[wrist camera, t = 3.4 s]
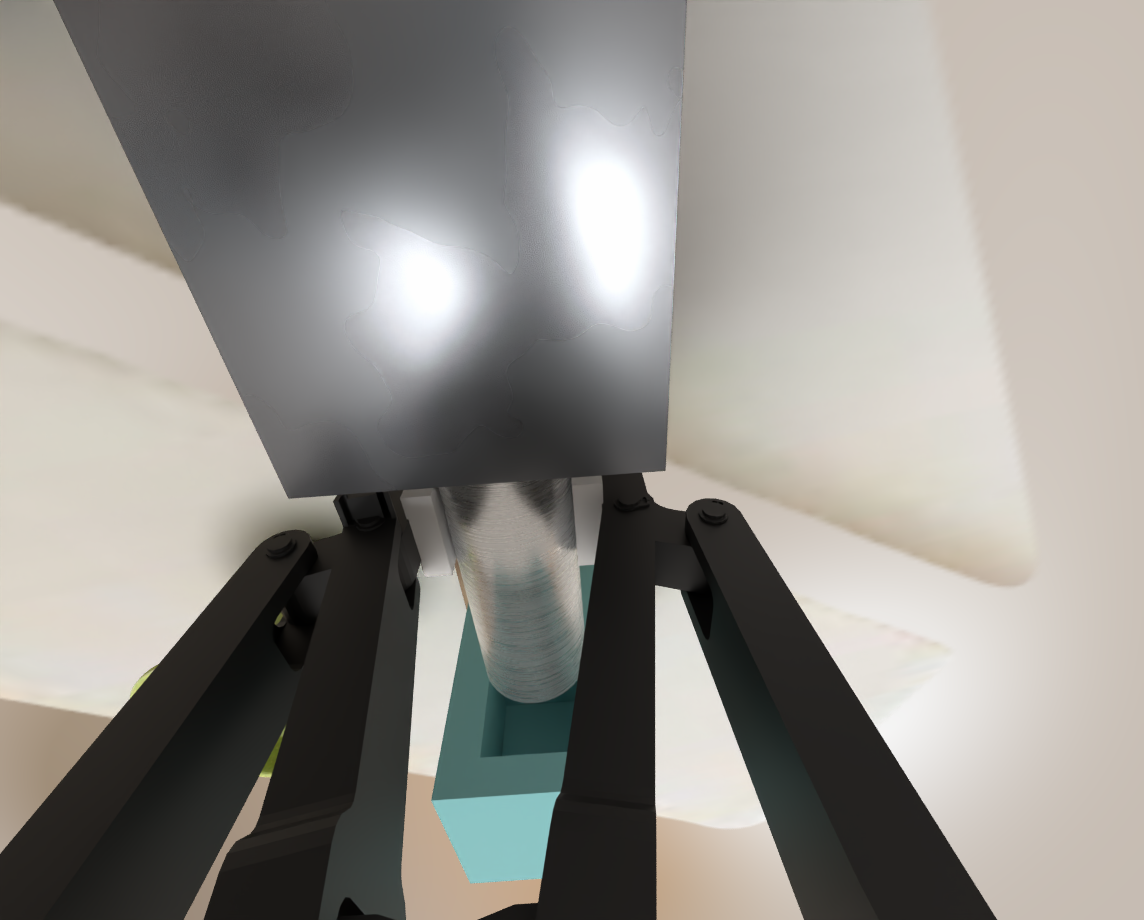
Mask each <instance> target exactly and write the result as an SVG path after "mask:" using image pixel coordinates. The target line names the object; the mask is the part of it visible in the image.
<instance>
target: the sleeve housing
mask: <svg viewBox="0 0 1144 920" xmlns="http://www.w3.org/2000/svg"><path fill="white" fill-rule="evenodd" d="M53 1H54V3H55V5H56V7H57V9H58V11H59V14H60V16H61V18H62V20H63V22H64V24H65V26H66V28H67V30H68V33H69V35H70V37H71V39H72V41H73V43H74V45H75V47H76V50H77V52H78V54H79V56H80V58H81V60H82V62H83V64H84V66H85V69H86V71H87V73H88V75H89V77H90V79H91V81H92V83H93V86H94V88H95V90H96V92H97V94H98V96H99V98H100V100H101V102H102V105H103V107H104V109H105V111H106V113H107V115H108V117H109V119H110V122H111V124H112V126H113V128H114V130H115V132H116V134H117V136H118V138H119V141H120V143H121V145H122V147H123V149H124V151H125V153H126V155H127V158H128V160H129V162H130V164H131V166H132V168H133V170H134V172H135V174H136V177H137V179H138V181H139V183H140V185H141V187H142V189H143V191H144V193H145V196H146V198H147V200H148V202H149V204H150V206H151V208H152V210H153V213H154V215H155V217H156V219H157V221H158V223H159V225H160V227H161V229H162V232H163V234H164V236H165V238H166V240H167V242H168V244H169V246H170V249H171V251H172V253H173V255H174V257H175V259H176V261H177V263H178V265H179V268H180V270H181V272H182V274H183V276H184V278H185V280H186V282H187V285H188V287H189V289H190V291H191V293H192V295H193V297H194V299H195V301H196V304H197V306H198V308H199V310H200V312H201V314H202V316H203V318H204V320H205V323H206V325H207V327H208V329H209V331H210V333H211V335H212V337H213V340H214V342H215V344H216V346H217V348H218V350H219V352H220V354H221V356H222V359H223V361H224V363H225V365H226V367H227V369H228V371H229V373H230V375H231V378H232V379H233V382H234V384H235V386H236V388H237V390H238V392H239V395H240V397H241V399H242V401H243V403H244V405H245V407H246V409H247V412H248V414H249V416H250V418H251V420H252V422H253V424H254V426H255V428H256V431H257V433H258V435H259V437H260V439H261V441H262V443H263V445H264V448H265V450H266V452H267V454H268V456H269V458H270V460H271V462H272V464H273V467H274V469H275V471H276V473H277V475H278V477H279V479H280V481H281V484H282V486H283V488H284V490H285V492H286V494H287V496H288V498H303V497H316V496H330V495H343V494H357V493H370V492H384V491H398V490H411V489H425V488H438V487H452V486H466V485H479V484H493V483H506V482H520V481H534V480H547V479H561V478H574V477H588V476H601V475H615V474H629V473H642V472H655V471H665V468H666V447H667V425H668V403H669V381H670V359H671V337H672V315H673V293H674V271H675V248H676V226H677V204H678V182H679V160H680V138H681V116H682V94H683V72H684V50H685V28H686V6H687V0H53Z"/></svg>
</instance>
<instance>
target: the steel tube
mask: <svg viewBox="0 0 1144 920" xmlns="http://www.w3.org/2000/svg"><path fill="white" fill-rule="evenodd" d="M438 488H439V491H440V495H441V499H442V503H443V507H444V510H445V514H446V518H447V522H448V526H449V530H450V533H451V537H452V541H453V545H454V549H455V553H456V556H457V560H458V564H459V568H460V572H461V575H462V579H463V583H464V587H465V591H466V595H467V598H468V602H469V606H470V610H471V614H472V617H473V621H474V625H475V629H476V633H477V637H478V640H479V644H480V648H481V652H482V656H483V659H484V663H485V667H486V671H487V675H488V677H489V680H490V682H491V683H492V685H493V686H494V688H495V689H496V690H497V691H498V692H499V693H501V694H502V695H503V696H505V697H507V698H509V699H511V700H514V701H517V702H522V703H539V702H544V701H548V700H551V699H553V698H556V697H558V696H560V695H561V694H563V693H564V692H566V691H567V690H568V689H569V688H571V687H572V686H573V685H574V683H575V682H576V681H577V680H578V673H579V666H580V659H581V652H582V646H583V639H584V632H585V630H584V617H583V604H582V592H581V579H580V566H578V555H577V543H576V530H575V518H574V506H573V493H572V479H571V478H561V479H547V480H534V481H520V482H506V483H493V484H479V485H466V486H452V487H438Z"/></svg>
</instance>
